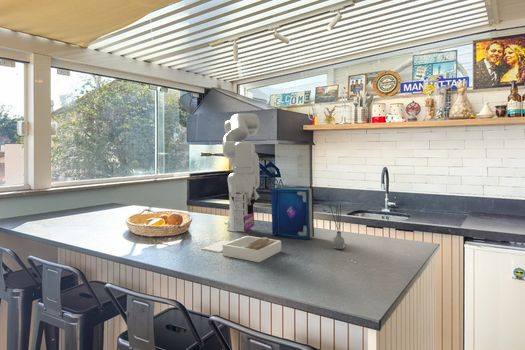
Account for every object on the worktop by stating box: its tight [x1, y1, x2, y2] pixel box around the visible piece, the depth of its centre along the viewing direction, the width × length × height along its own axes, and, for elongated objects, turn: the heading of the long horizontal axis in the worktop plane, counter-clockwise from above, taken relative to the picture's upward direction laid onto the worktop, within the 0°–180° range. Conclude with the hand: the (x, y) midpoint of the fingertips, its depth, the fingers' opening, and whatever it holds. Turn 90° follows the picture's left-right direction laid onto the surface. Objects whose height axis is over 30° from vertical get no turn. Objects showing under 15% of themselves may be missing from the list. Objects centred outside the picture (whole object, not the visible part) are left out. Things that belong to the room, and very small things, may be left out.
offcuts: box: [248, 236, 274, 250], centre depth 150 cm, size 5×12×6 cm, turn 148°
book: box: [270, 186, 315, 240], centre depth 180 cm, size 22×7×25 cm, turn 62°
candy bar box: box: [234, 192, 255, 233], centre depth 154 cm, size 11×5×16 cm, turn 160°
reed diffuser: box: [329, 203, 346, 250], centre depth 158 cm, size 10×7×20 cm
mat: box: [201, 240, 231, 254], centre depth 162 cm, size 10×16×1 cm, turn 148°
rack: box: [222, 235, 282, 263], centre depth 152 cm, size 18×18×4 cm
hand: (244, 212), depth 154 cm, fingers closed on candy bar box, 5 cm apart
